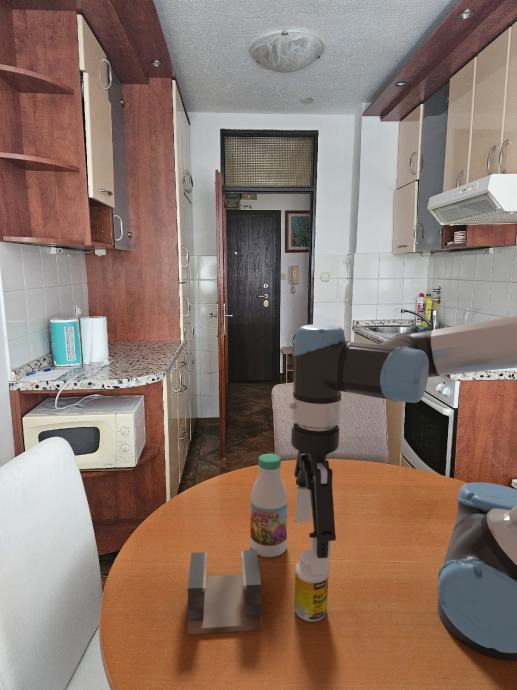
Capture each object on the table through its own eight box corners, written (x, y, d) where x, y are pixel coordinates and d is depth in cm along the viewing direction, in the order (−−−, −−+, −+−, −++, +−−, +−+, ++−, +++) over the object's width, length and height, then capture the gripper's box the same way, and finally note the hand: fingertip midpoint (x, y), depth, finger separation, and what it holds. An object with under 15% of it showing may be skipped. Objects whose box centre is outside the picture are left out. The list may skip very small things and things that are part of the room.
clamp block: (256, 578, 82) (256, 544, 81) (262, 629, 70) (262, 591, 69) (192, 581, 81) (191, 547, 80) (187, 634, 69) (186, 595, 68)
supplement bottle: (313, 629, 70) (314, 572, 68) (287, 610, 74) (288, 556, 72) (333, 611, 74) (335, 557, 72) (308, 594, 78) (309, 542, 76)
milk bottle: (251, 535, 95) (251, 449, 92) (286, 536, 95) (288, 450, 92) (249, 558, 88) (249, 465, 84) (287, 559, 87) (289, 466, 84)
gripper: (281, 399, 80) (278, 504, 84) (307, 457, 56) (301, 601, 60) (321, 399, 81) (316, 503, 85) (364, 455, 57) (355, 599, 60)
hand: (310, 544), depth 72 cm, fingers open, 13 cm apart
